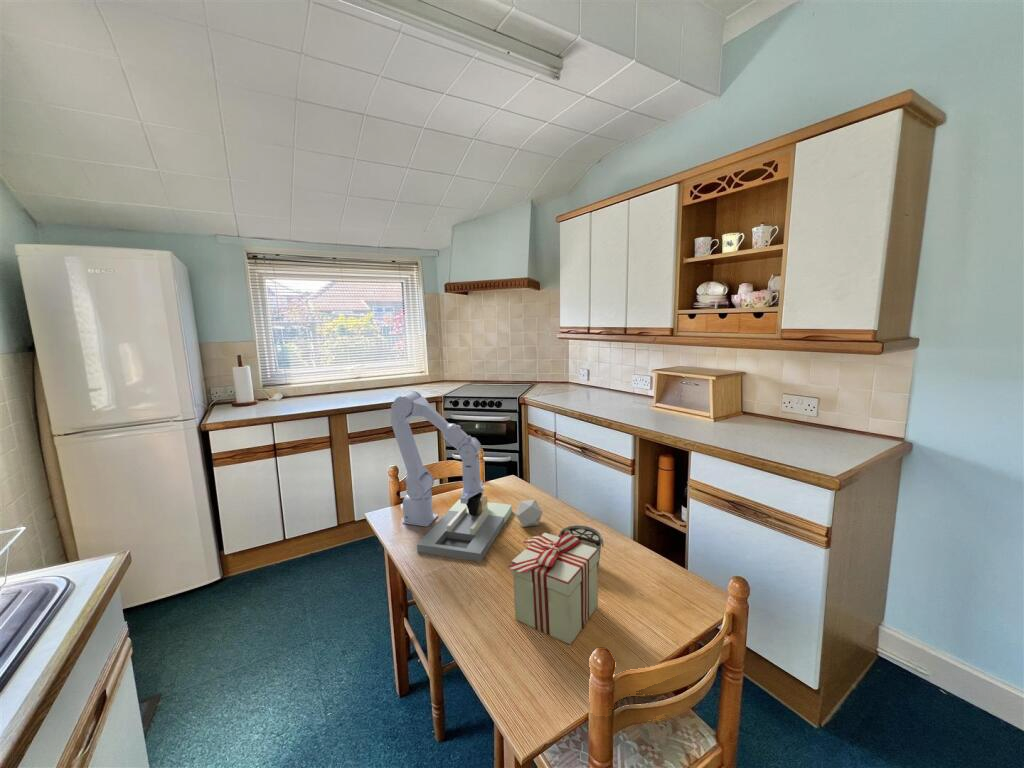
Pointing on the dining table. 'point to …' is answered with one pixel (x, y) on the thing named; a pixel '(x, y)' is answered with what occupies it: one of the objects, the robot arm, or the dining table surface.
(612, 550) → the dining table surface
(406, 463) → the robot arm
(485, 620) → the dining table surface
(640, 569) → the dining table surface
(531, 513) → the die
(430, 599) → the dining table surface
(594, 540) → the dark grey curved piece
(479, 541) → the trap deck
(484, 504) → the maple block
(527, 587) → the gift box
